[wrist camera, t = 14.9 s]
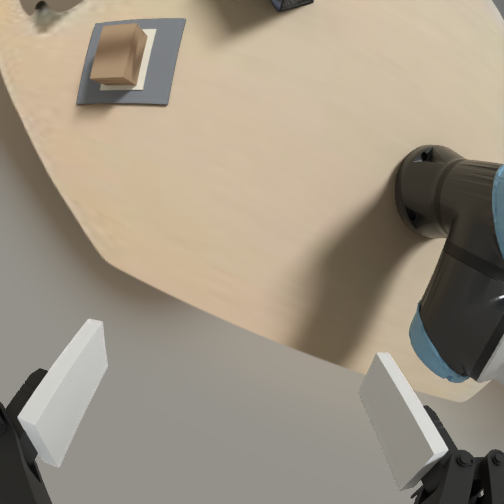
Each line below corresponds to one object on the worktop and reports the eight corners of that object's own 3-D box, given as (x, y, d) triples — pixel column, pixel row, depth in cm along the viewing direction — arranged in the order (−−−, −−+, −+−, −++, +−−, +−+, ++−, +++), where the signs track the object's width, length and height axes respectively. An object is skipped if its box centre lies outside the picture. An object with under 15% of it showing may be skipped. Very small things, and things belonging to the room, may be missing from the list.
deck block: (136, 85, 36) (123, 77, 31) (106, 85, 35) (89, 78, 30) (147, 36, 33) (136, 23, 28) (117, 38, 33) (103, 26, 28)
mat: (186, 19, 33) (185, 18, 33) (167, 104, 38) (166, 104, 37) (96, 24, 32) (95, 23, 31) (78, 104, 36) (75, 103, 36)
